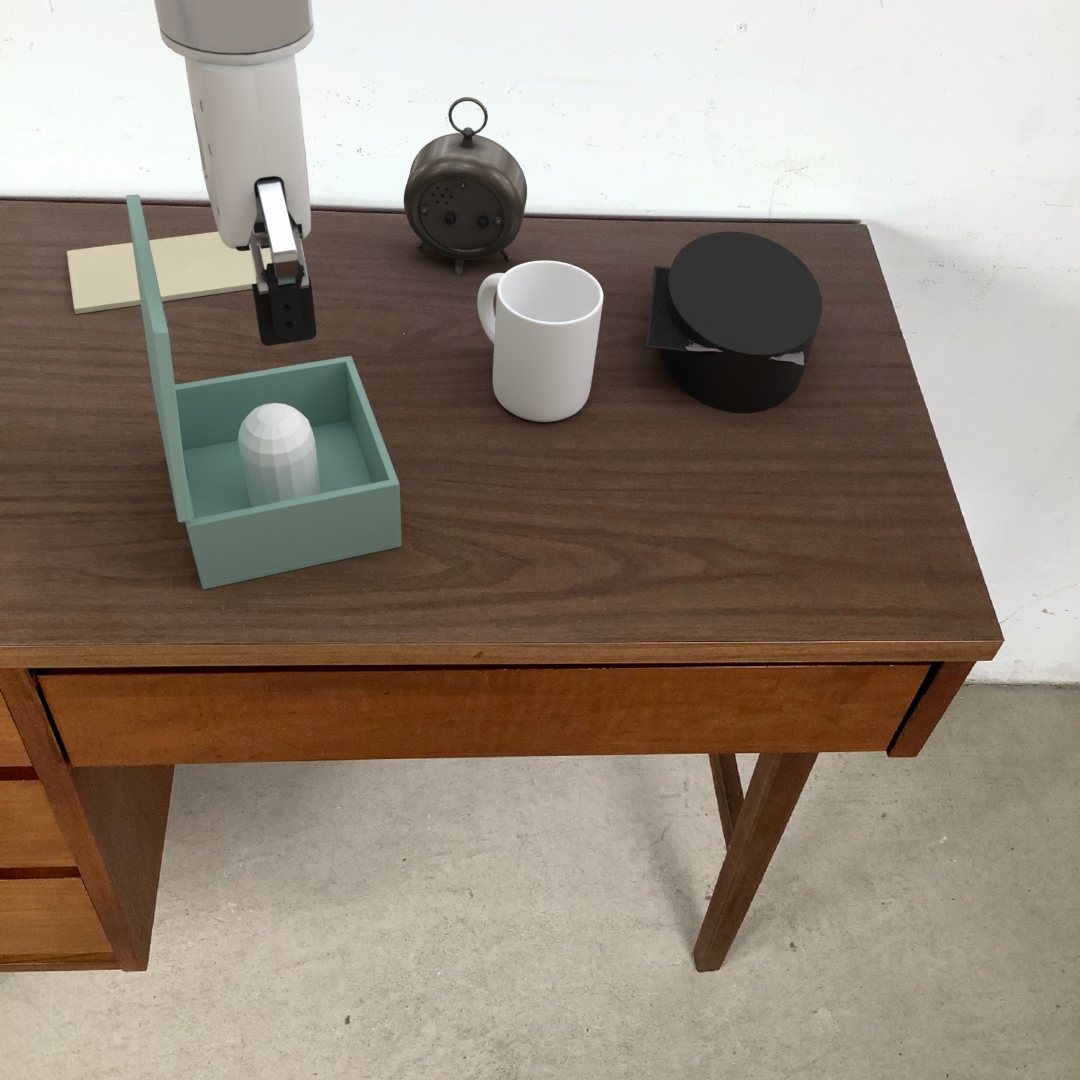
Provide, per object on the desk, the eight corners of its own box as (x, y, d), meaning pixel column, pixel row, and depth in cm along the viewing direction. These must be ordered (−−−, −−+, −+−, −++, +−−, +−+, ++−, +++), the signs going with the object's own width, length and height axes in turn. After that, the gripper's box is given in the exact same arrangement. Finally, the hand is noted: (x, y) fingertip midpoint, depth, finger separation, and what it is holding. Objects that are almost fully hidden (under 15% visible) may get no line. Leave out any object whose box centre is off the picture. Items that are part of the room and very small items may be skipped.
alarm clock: (523, 252, 104) (535, 90, 91) (517, 285, 100) (528, 120, 88) (411, 239, 104) (408, 75, 91) (401, 271, 100) (396, 105, 88)
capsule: (321, 466, 82) (312, 386, 76) (320, 517, 78) (310, 438, 72) (250, 468, 81) (234, 388, 75) (246, 520, 78) (229, 440, 72)
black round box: (800, 308, 102) (818, 238, 97) (809, 423, 90) (831, 349, 84) (649, 291, 103) (659, 221, 98) (638, 403, 91) (648, 329, 85)
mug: (443, 365, 92) (443, 262, 84) (513, 328, 96) (520, 227, 88) (539, 440, 86) (548, 338, 79) (609, 397, 90) (625, 296, 83)
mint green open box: (356, 419, 86) (351, 355, 81) (402, 546, 78) (399, 483, 73) (175, 452, 82) (158, 387, 77) (202, 590, 74) (186, 526, 69)
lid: (139, 193, 66) (125, 194, 66) (168, 331, 58) (153, 332, 58) (163, 381, 77) (151, 382, 77) (191, 521, 69) (178, 523, 68)
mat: (75, 314, 92) (73, 308, 92) (68, 256, 98) (66, 250, 97) (305, 281, 98) (305, 275, 98) (286, 228, 103) (285, 222, 103)
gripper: (137, -62, 57) (192, 221, 70) (177, 91, 46) (233, 391, 59) (279, -69, 59) (307, 208, 72) (348, 76, 48) (366, 370, 61)
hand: (274, 291), depth 65 cm, fingers open, 9 cm apart
